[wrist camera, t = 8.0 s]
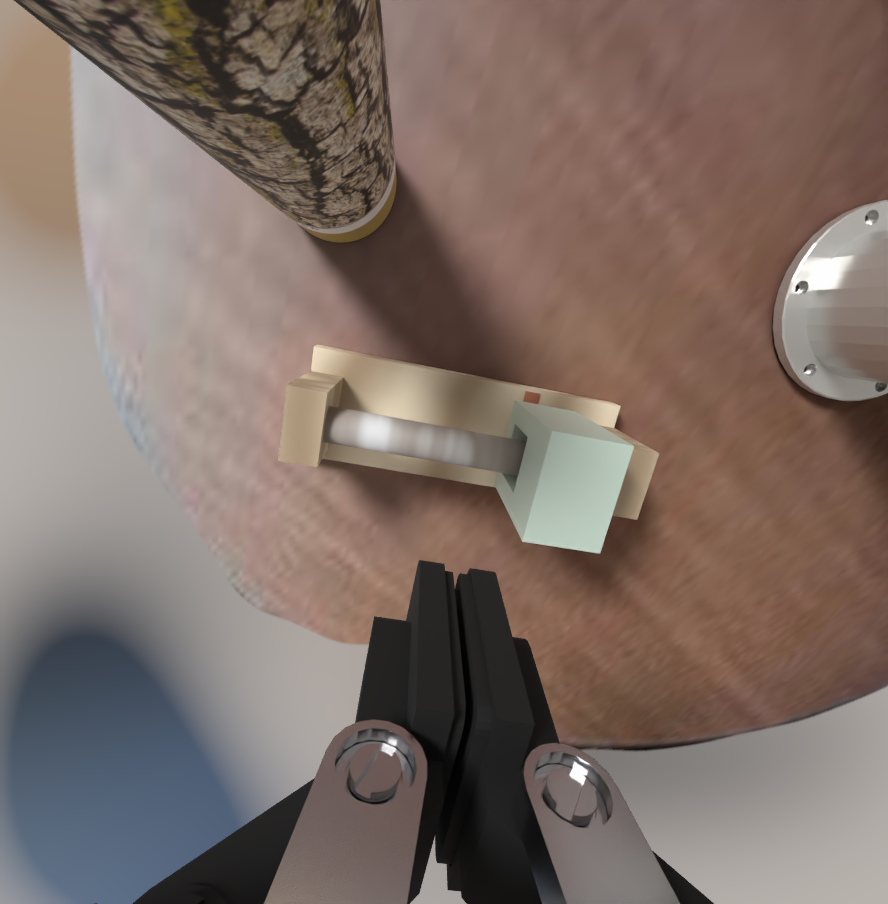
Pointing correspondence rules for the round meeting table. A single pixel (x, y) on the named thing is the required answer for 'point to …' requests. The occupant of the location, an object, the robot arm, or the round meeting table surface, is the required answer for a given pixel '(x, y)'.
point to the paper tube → (259, 93)
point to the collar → (563, 477)
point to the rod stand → (428, 421)
